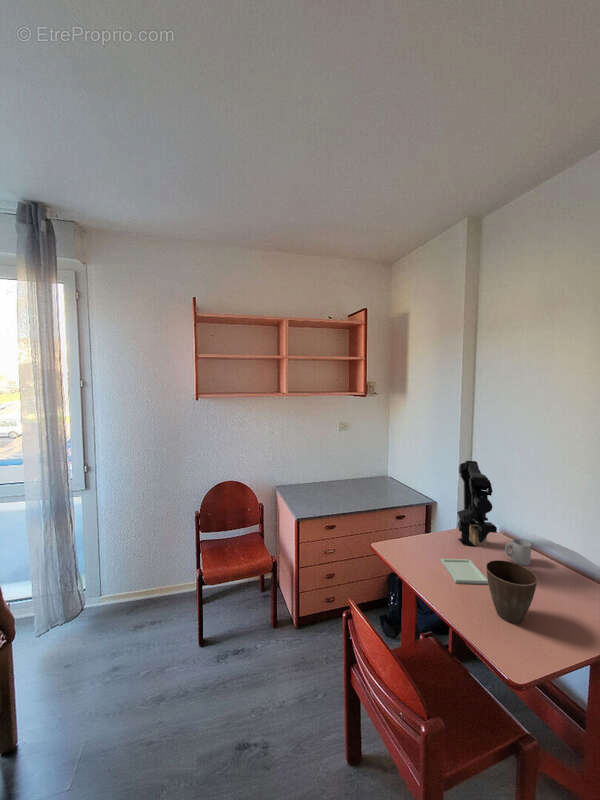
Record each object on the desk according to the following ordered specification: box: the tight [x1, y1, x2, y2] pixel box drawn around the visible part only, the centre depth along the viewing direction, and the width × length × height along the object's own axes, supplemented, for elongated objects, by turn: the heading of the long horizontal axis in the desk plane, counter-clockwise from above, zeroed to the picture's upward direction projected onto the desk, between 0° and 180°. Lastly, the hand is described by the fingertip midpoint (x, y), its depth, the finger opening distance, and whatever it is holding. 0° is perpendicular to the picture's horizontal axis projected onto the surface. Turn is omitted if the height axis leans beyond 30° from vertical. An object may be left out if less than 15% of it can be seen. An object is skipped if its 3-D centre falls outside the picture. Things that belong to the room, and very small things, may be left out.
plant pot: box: [485, 559, 538, 624], centre depth 113 cm, size 15×15×16 cm
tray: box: [440, 558, 489, 586], centre depth 140 cm, size 16×13×2 cm
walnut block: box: [469, 525, 488, 547], centre depth 144 cm, size 5×5×7 cm
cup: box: [504, 538, 532, 566], centre depth 149 cm, size 7×10×9 cm
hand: (477, 539), depth 145 cm, fingers closed on walnut block, 5 cm apart
